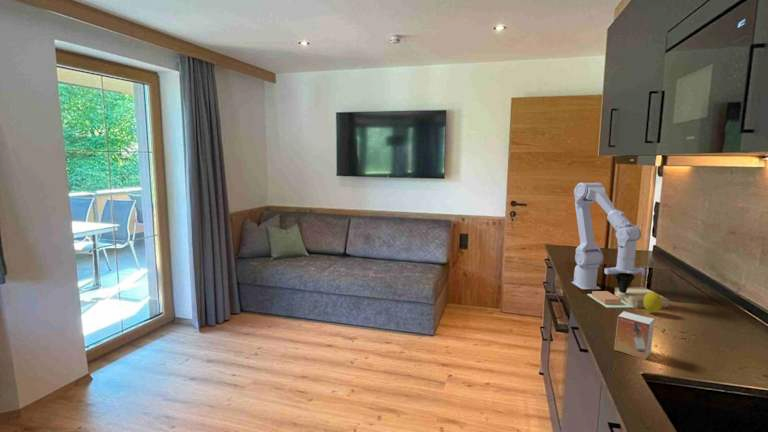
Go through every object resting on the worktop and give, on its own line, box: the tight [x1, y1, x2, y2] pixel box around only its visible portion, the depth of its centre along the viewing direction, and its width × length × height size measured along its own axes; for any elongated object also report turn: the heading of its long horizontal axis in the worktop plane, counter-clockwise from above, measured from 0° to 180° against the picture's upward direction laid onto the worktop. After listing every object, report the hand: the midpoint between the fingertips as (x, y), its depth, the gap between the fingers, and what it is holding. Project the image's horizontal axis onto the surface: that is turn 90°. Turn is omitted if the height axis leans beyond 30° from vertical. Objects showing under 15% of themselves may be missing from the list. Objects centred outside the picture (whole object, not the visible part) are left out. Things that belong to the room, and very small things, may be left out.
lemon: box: [643, 291, 662, 314], centre depth 144 cm, size 6×6×8 cm
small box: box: [613, 310, 656, 360], centre depth 115 cm, size 8×6×10 cm
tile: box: [591, 290, 621, 304], centre depth 156 cm, size 9×6×2 cm, turn 2°
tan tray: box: [613, 287, 670, 309], centre depth 156 cm, size 14×12×3 cm
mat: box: [586, 293, 635, 309], centre depth 156 cm, size 14×10×1 cm
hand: (622, 292), depth 156 cm, fingers closed
